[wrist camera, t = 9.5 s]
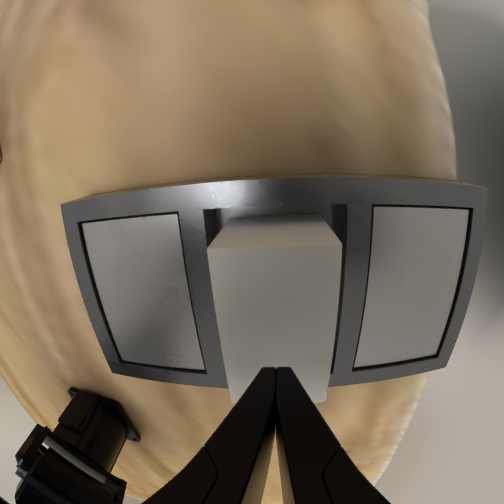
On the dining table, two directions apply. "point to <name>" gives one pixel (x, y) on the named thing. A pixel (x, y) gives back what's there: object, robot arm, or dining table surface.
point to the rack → (279, 203)
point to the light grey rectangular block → (276, 298)
